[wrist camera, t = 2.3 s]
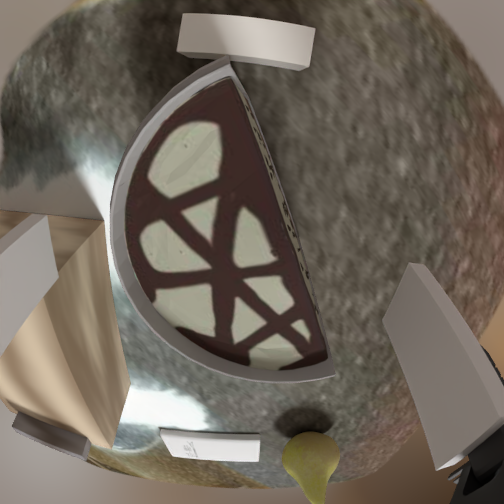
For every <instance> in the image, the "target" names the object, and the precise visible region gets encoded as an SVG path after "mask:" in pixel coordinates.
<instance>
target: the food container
mask: <svg viewBox="0 0 504 504" xmlns="http://www.w3.org/2000/svg"><path fill="white" fill-rule="evenodd" d="M110 244H111V249H112V254H113V259H114V264H115V268H116V271H117V274H118V276H119V279H120V282H121V284H122V287H123V289H124V292H125V293H126V295H127V297H128V299H129V300H130V302H131V304H132V305H133V307H134V309H135V310H136V312H137V313H138V315H139V316H140V317H141V318H142V319H143V321H144V322H145V323H146V324H147V326H148V327H149V328H150V329H151V330H152V331H153V332H154V333H155V334H156V335H157V336H158V337H159V338H160V339H162V340H163V341H164V342H165V343H166V344H167V345H168V346H170V347H171V348H172V349H174V350H175V351H177V352H178V353H180V354H181V355H183V356H184V357H186V358H187V359H189V360H191V361H193V362H195V363H197V364H199V365H201V366H203V367H205V368H207V369H210V370H213V371H216V372H218V373H221V374H224V375H227V376H231V377H235V378H239V379H244V380H249V381H256V382H265V383H299V382H307V381H314V380H320V379H324V378H329V377H333V376H336V373H335V369H334V364H333V360H332V356H331V352H330V348H329V345H328V341H327V337H326V333H325V329H324V325H323V322H322V318H321V314H320V310H319V307H318V303H317V299H316V296H315V292H314V288H313V285H312V281H311V278H310V274H309V271H308V267H307V264H306V260H305V257H304V253H303V250H302V247H301V243H300V240H299V237H298V234H297V231H296V228H295V224H294V221H293V218H292V215H291V212H290V209H289V206H288V204H287V201H286V198H285V195H284V192H283V189H282V186H281V183H280V180H279V177H278V175H277V172H276V169H275V166H274V163H273V161H272V158H271V155H270V152H269V149H268V147H267V144H266V141H265V139H264V136H263V133H262V131H261V128H260V125H259V123H258V120H257V117H256V115H255V112H254V109H253V107H252V104H251V102H250V99H249V97H248V95H247V93H246V91H245V89H244V88H243V86H242V84H241V82H240V80H239V79H238V77H237V75H236V73H235V72H234V70H233V68H232V66H231V64H230V58H229V56H228V55H226V56H224V57H222V58H220V59H217V60H215V61H213V62H211V63H209V64H207V65H205V66H203V67H201V68H199V69H198V70H196V71H195V72H194V73H192V74H191V75H189V76H188V77H187V78H185V79H184V80H182V81H181V82H180V83H178V84H177V85H176V86H174V87H173V88H172V89H171V90H170V91H169V92H168V93H167V94H166V95H165V96H164V97H163V98H162V100H161V101H160V102H159V103H158V104H157V105H156V106H155V107H154V108H153V109H152V110H151V111H150V113H149V114H148V115H147V116H146V117H145V118H144V120H143V121H142V123H141V124H140V126H139V127H138V129H137V131H136V132H135V134H134V135H133V137H132V139H131V140H130V142H129V144H128V145H127V147H126V149H125V152H124V154H123V157H122V160H121V162H120V165H119V167H118V170H117V173H116V175H115V180H114V185H113V191H112V196H111V202H110Z"/></svg>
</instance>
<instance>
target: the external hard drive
mask: <svg viewBox="0 0 504 504" xmlns="http://www.w3.org/2000/svg"><path fill="white" fill-rule="evenodd" d="M160 435H161V437H162V439H163V441H164V443H165V444H166V446H167V448H168V450H169V451H170V453H171V455H172V456H175V457H184V458H193V459H204V460H218V461H246V462H258V461H259V450H260V434H217V433H200V432H187V431H177V430H168V429H161V432H160Z"/></svg>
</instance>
